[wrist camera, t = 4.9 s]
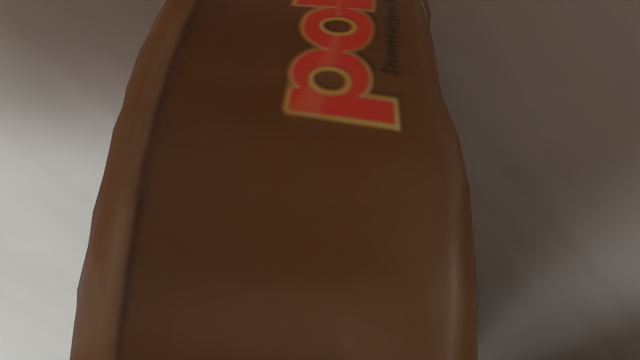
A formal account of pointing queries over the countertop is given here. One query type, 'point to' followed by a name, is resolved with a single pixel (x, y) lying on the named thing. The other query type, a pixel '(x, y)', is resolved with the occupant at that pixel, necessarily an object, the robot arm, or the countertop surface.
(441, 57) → the countertop surface
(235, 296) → the tin
